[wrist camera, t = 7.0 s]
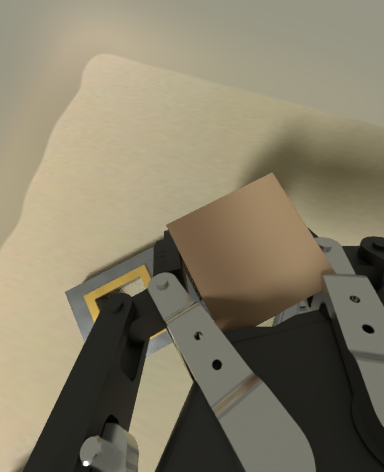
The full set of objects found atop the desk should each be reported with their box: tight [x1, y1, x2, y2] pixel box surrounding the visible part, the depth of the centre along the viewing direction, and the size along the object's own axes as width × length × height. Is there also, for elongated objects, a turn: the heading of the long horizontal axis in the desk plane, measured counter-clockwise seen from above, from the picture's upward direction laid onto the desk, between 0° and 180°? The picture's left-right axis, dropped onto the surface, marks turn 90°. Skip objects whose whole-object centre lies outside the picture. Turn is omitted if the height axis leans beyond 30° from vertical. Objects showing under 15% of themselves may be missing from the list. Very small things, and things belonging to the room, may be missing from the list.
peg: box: [166, 172, 336, 333], centre depth 12 cm, size 4×4×10 cm
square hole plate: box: [65, 247, 213, 357], centre depth 26 cm, size 23×11×3 cm, turn 118°
